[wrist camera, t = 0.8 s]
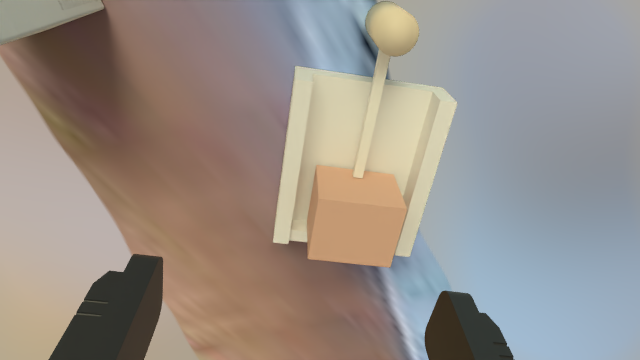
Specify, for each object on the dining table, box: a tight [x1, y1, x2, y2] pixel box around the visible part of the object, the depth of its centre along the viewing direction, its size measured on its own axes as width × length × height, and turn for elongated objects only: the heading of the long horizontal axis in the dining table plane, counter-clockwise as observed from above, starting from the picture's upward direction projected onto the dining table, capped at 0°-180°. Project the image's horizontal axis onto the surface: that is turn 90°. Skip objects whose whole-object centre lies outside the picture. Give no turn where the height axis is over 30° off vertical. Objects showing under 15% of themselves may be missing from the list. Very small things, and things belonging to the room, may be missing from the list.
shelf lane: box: [273, 66, 457, 257], centre depth 34 cm, size 13×11×4 cm
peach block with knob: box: [307, 1, 419, 267], centre depth 31 cm, size 17×6×6 cm, turn 171°
